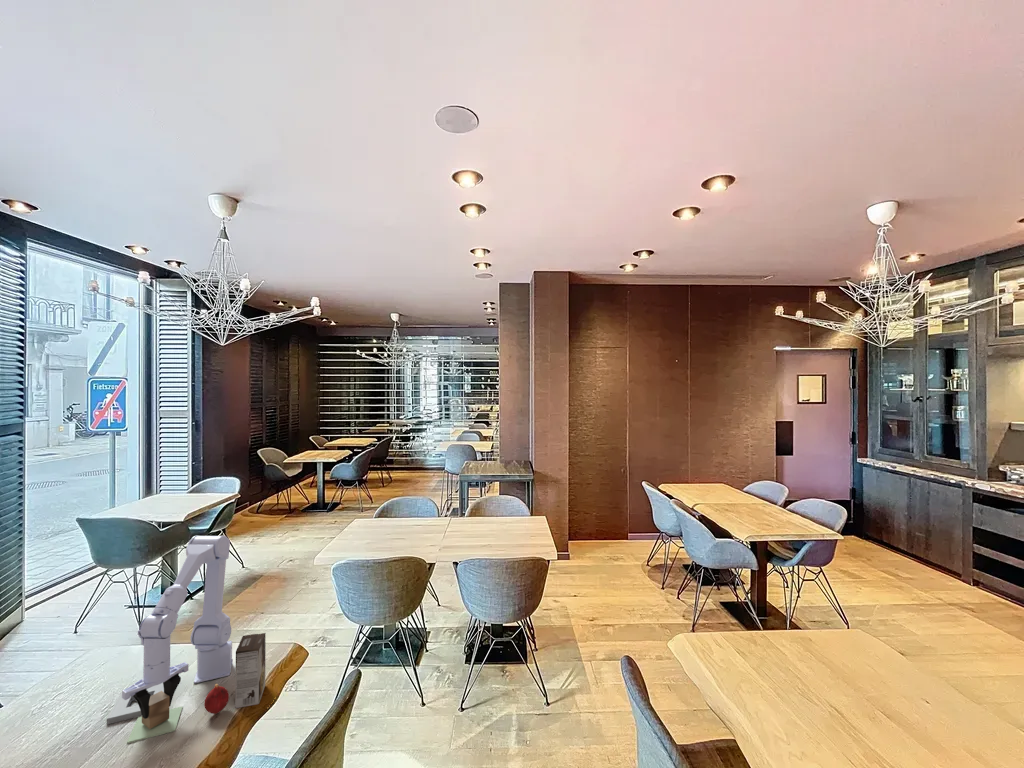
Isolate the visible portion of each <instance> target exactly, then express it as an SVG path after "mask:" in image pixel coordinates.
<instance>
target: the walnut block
mask: <svg viewBox="0 0 1024 768" xmlns="http://www.w3.org/2000/svg"><path fill="white" fill-rule="evenodd" d="M169 700H170V696H168V695H167V694H166V693H164V692H163V691H160V692H158V693H156V694H154V695H152V696H150V700H149V716H148V718H146V719H144V718H143V717H142V723H143V724H144V725H145V726H146V727H148V728H149V729H151V728H153V727H155V726H156V725H158V724H160V723H162V722H164V721H166V720H168V719H169V709H170V707H169Z"/></svg>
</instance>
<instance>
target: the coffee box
mask: <svg viewBox="0 0 1024 768" xmlns="http://www.w3.org/2000/svg"><path fill="white" fill-rule="evenodd" d="M266 642H267V640H266V632H264V633H253V634H245V635H242V636H241V639H240V642H239V644H238V646H237V648H236V650H235V682H234V683H235V687H234V688H235V689H234V690H235V694H234V697H235V699H234V700H235V701H234V705H235V706H234V708H235V709H238V708H243V707H249V706H256V705H259V704H260V702H261V700H262V697H263V695H264V694H263V693H264V690H265V686H266Z"/></svg>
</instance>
